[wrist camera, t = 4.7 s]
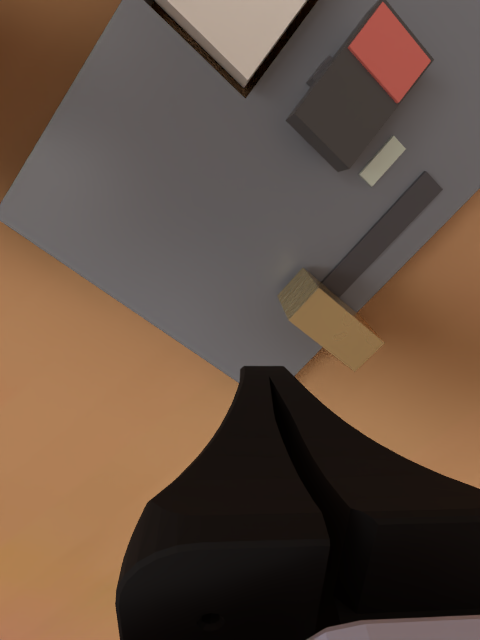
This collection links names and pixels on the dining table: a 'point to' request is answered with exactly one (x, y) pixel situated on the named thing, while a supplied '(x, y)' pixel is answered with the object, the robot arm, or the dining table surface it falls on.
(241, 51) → the push button
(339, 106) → the rocker switch
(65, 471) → the dining table surface
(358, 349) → the block
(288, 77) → the switch panel
